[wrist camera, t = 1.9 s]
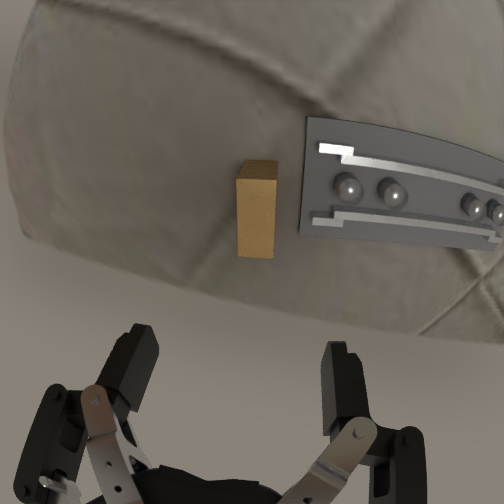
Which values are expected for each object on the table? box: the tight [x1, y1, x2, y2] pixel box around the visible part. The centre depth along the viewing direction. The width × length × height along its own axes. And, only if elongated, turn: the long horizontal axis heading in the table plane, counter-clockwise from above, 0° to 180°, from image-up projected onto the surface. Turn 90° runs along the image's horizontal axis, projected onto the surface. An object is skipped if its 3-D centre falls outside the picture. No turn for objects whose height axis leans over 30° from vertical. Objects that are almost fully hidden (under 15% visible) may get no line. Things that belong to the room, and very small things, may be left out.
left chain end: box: [311, 140, 445, 228], centre depth 23 cm, size 13×8×3 cm, turn 90°
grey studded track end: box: [427, 168, 504, 243], centre depth 22 cm, size 13×8×3 cm, turn 90°
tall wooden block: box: [236, 160, 278, 259], centre depth 24 cm, size 3×7×6 cm, turn 0°
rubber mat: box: [299, 116, 504, 251], centre depth 24 cm, size 28×12×1 cm, turn 90°
